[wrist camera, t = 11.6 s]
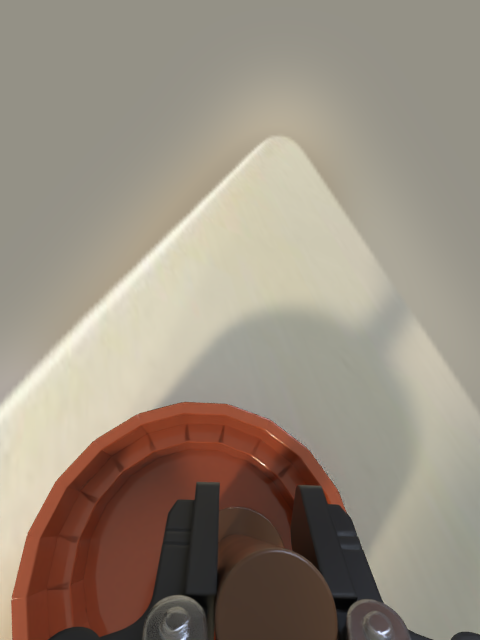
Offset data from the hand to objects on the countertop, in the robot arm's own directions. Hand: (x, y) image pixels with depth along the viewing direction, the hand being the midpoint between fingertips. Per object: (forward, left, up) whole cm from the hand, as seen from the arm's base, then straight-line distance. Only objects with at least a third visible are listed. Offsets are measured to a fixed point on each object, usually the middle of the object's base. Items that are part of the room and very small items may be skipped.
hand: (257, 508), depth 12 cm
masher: (0, +2, -10) cm, 10 cm away
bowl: (+2, +2, -11) cm, 11 cm away
